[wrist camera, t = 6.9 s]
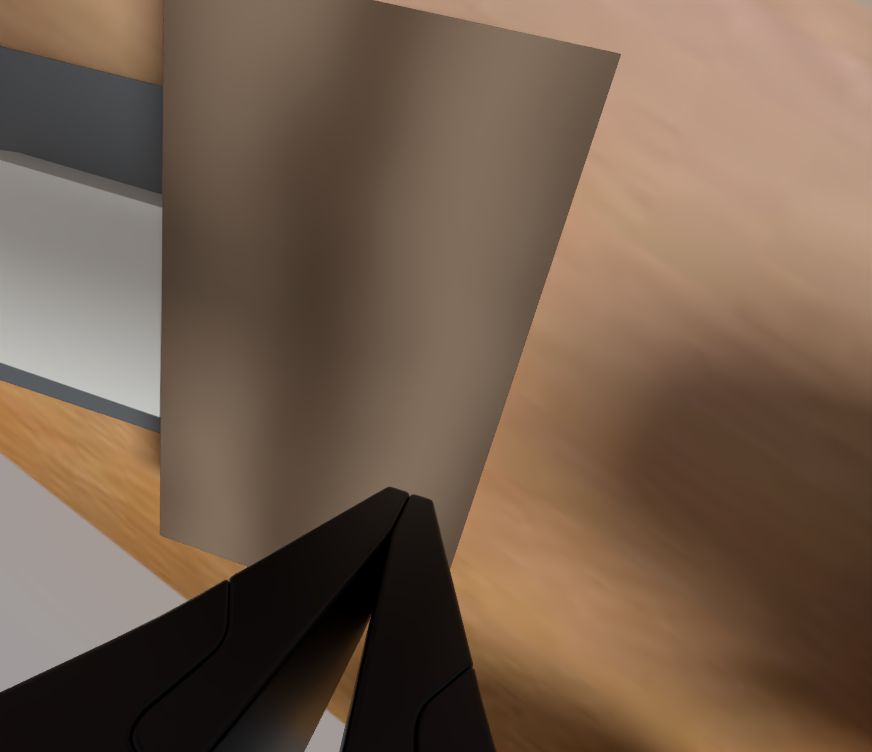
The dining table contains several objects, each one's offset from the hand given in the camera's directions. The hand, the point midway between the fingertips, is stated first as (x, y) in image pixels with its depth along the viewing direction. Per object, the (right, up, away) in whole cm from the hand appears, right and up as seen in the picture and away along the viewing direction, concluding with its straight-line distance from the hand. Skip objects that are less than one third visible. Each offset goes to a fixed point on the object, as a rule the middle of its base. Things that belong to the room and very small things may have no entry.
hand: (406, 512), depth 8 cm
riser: (-2, +4, +8) cm, 9 cm away
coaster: (-12, +6, +9) cm, 16 cm away
